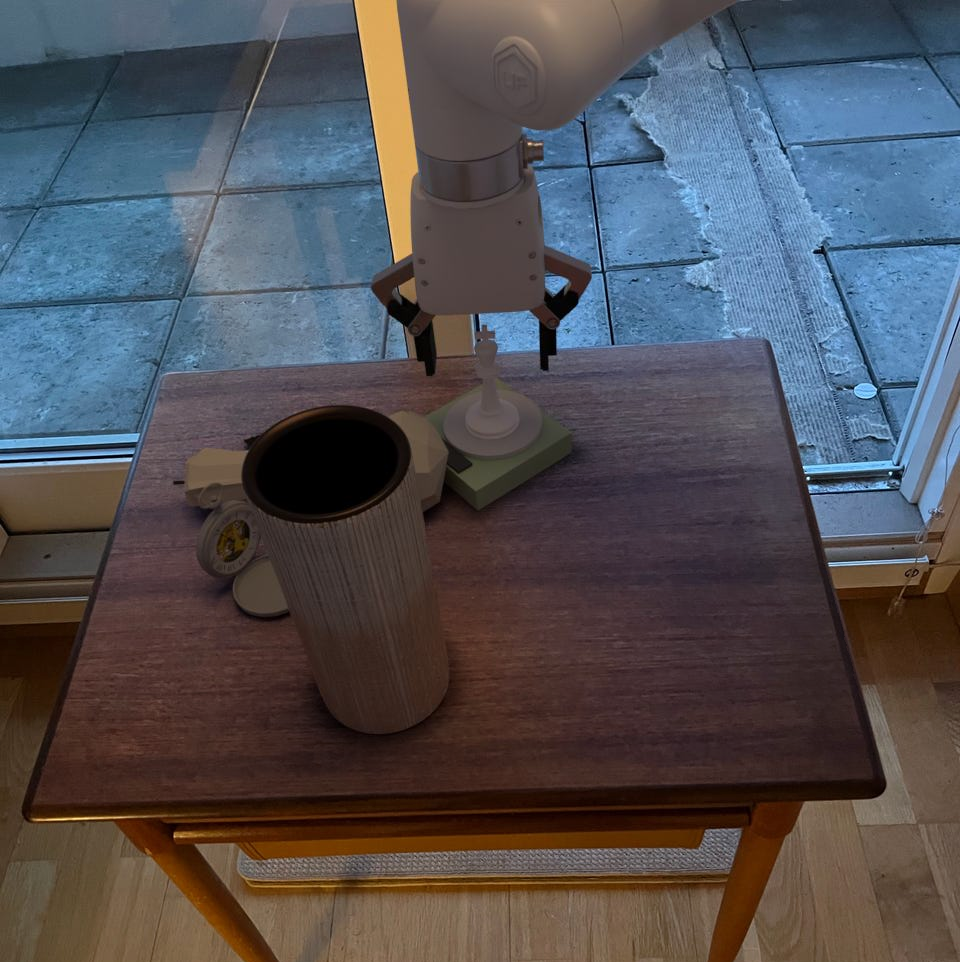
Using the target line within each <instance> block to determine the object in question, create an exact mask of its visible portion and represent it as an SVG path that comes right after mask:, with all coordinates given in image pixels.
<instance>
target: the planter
mask: <svg viewBox="0 0 960 962" xmlns="http://www.w3.org/2000/svg"><path fill="white" fill-rule="evenodd" d="M387 416H388V415H386V414H384V413H381V412H379V411H377V410H374V409H371V408H368V407H364V406H358V405H351V404H330V405H322V406H316V407H311V408H307V409H305V410H301V411H299V412H295V413H294V414H291V415H288V416H287V417H285V418H283V419H281V420H279V421H278V422H276V423H274V424H273V425H271V426H270V427H268V428H267V429H266V430H265V431H263V432H262V433H263V434H262V433H261V434H262V435H261V434H260V435H261V436H260V437H259V438H258V439H257V440H256V441H255V442H254V443H253V445H252V446H251V448H250V447H249V449H248V450H249V451H248V453H247V455H246V457H245V459H244V462H243V466H242V472H241V481H242V486H243V489H244V492H245V495H246V498H247V500H248V502H247V503H249V506H250V509H251V511H252V514H253V517H254V519H255V522H256V524H257V527H258V530H259V532H260V535H261V540H262V543H263V545H264V548H265V551H266V555H267V554H268V556H269V559H270V561H271V564H272V567H273V569H274V572H275V575H276V577H277V580H278V583H279V585H280V588H281V591H282V593H283V596H284V598H285V601H286V604H287V606H288V609H289V612H288V613H289V615H290V617H291V620H292V622H293V625H294V628H295V630H296V633H297V636H298V638H299V640H300V643H301V647H302V648H303V652H304V654H305V657H306V659H307V663H308V665H309V667H310V670H311V672H312V675H313V677H314V681H315V683H316V686H317V688H318V691H319V693H320V696H321V698H322V700H323V702H324V704H325V706H326V708H327V710H328V711H329V713H330V714H331V715H332V717H334V718H335V720H337V721H338V722H339V723H340V724H342V725H343V726H345V727H347V728H349V729H351V730H355V731H357V732H360V733H364V734H372V735H386V734H387V735H388V734H394V733H397V732H401V731H406V730H407V729H410V728H411V727H414V726H416V725H418V724H419V723H421V722H423V721H424V720H426V719H427V718H428V717H429V716H430V715H432V713H434V712H435V710H437V709H438V707H439V706H440V705H441V703H442V701H443V700H444V697H445V696H446V694H447V691H448V688H449V684H450V663H449V662H450V661H449V655H448V649H447V643H446V639H445V638H446V637H445V632H444V627H443V621H442V616H441V609H440V603H439V599H438V593H437V586H436V581H435V576H434V570H433V565H432V559H431V553H430V548H429V547H430V546H429V542H428V535H427V530H426V524H425V519H424V512H422V506H421V501H420V495H419V489H418V484H417V478H416V472H415V467H414V461H413V455H412V450H411V446H410V442H409V440H408V438H407V436H406V434H405V433H404V431H403V430H402V429H401V427H400V426H399V425H398V424H397V423H395V422H394V421H393V420H392V419H390V418H389V417H387Z"/></svg>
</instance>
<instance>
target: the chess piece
mask: <svg viewBox="0 0 960 962" xmlns="http://www.w3.org/2000/svg"><path fill="white" fill-rule="evenodd" d="M473 336H474V340H478V341H477V342H476V343H475V344H474V346H473V351H474V353H475V356H477V359H478V361H479V364H478V365H477V366H476V368H475V375H476V376H477V377H478V378H480V379H482V384H483V390H482V401H479V402H477V403H475V404H474V405H472V406H471V407H470V408H469V409H468V411H467V413H466V416H465V426H466V429H467V430H468V432H469V433H470V434H472V435H473V436H475V437H477V438H481V439H486V440H494V439H500V438H503V437H506V436H508V435H510V434H511V433H513V432H514V431H515V430H516V428H517V427H518V425H519V421H520V419H519V415H518V411H517V409H516V407H515V406H514V405H513V404H512V403H510V402H508V401H506V400H503V399H499V397H498V393H497V388H496V384H495V377H496V378H497V377H498V376H499V375H500V374H501V367H500V366H499V364H498V363H496V362H495V361H496V357H497V353H498V350H499V345H498V343H497V342H496V341H495V340H493V339H496V330H488V324H481V331H480V330H479V331H474V335H473Z"/></svg>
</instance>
